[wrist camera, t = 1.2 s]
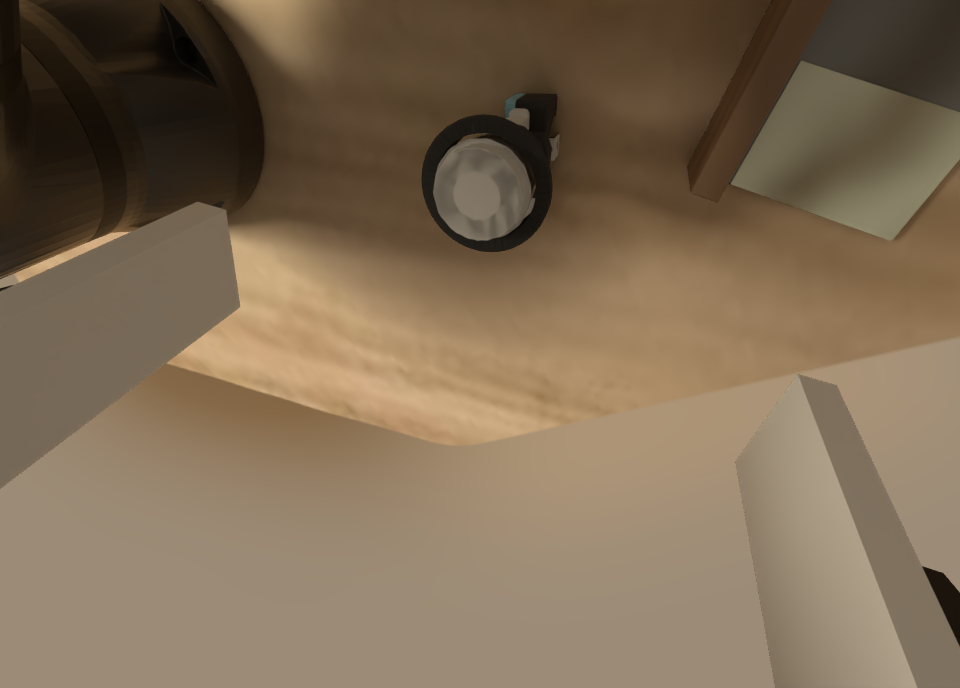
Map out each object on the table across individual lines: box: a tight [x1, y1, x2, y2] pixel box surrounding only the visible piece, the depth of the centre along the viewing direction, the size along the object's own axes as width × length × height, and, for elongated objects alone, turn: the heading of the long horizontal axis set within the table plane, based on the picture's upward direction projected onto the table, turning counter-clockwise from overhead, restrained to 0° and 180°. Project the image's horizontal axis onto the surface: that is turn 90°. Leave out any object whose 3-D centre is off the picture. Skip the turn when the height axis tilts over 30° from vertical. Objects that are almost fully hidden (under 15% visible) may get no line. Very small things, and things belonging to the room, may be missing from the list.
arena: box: [687, 0, 960, 241], centre depth 20 cm, size 10×13×4 cm
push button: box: [422, 93, 560, 252], centre depth 24 cm, size 7×5×10 cm
